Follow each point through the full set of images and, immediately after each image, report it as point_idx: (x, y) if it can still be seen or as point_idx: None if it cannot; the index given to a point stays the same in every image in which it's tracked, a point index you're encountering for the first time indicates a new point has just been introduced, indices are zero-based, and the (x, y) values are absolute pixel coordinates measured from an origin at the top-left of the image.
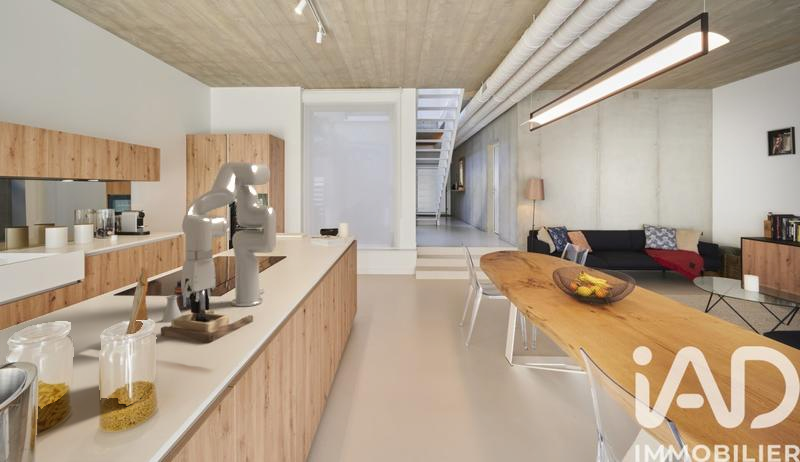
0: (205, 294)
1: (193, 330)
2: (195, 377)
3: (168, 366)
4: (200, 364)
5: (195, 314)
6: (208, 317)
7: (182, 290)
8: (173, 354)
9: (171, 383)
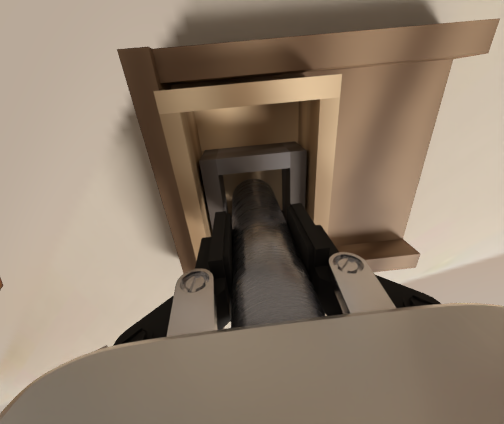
0: (336, 309)
1: (187, 230)
2: (83, 342)
3: (63, 270)
4: (122, 313)
5: (233, 218)
6: (308, 198)
7: (36, 391)
8: (109, 221)
9: (36, 330)
